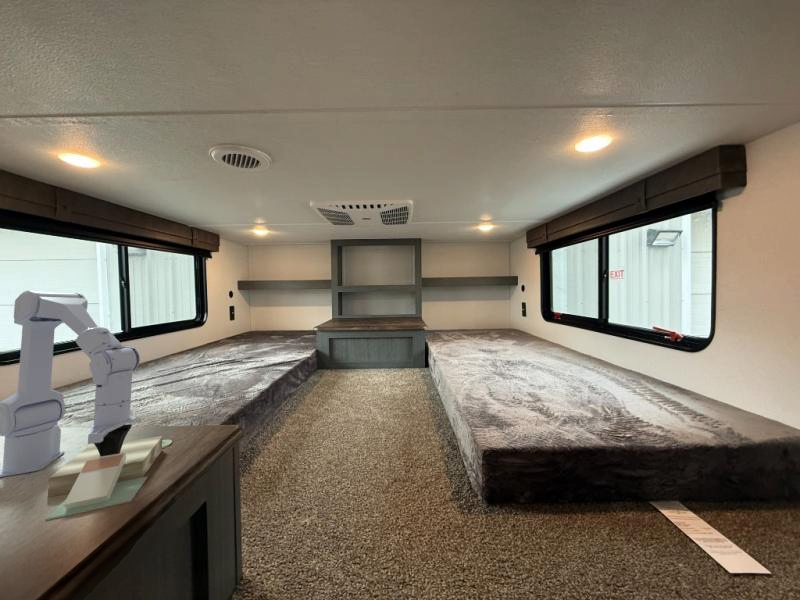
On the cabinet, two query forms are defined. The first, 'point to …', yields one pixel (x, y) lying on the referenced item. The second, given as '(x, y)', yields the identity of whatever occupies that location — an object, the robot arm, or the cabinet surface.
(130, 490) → the mat
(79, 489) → the white striped box
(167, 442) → the sign
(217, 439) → the cabinet surface
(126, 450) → the cream piece
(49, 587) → the cabinet surface
